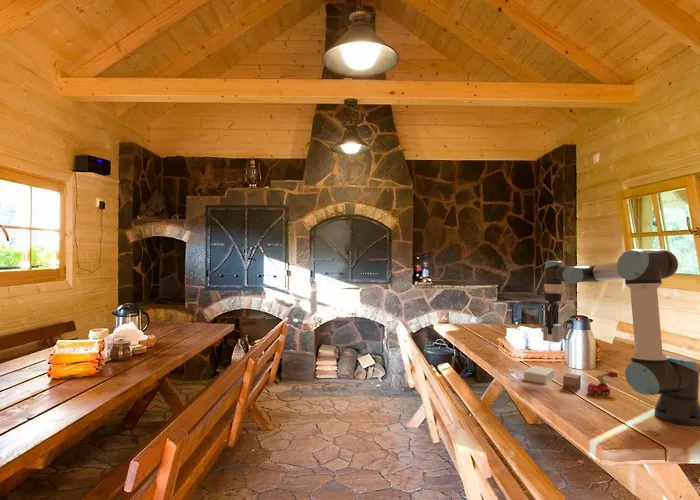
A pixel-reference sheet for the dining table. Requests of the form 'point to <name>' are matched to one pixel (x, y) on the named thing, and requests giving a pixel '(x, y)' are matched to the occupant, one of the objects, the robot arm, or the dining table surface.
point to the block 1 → (555, 334)
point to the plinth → (539, 374)
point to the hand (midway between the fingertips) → (551, 339)
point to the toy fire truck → (601, 384)
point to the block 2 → (572, 382)
